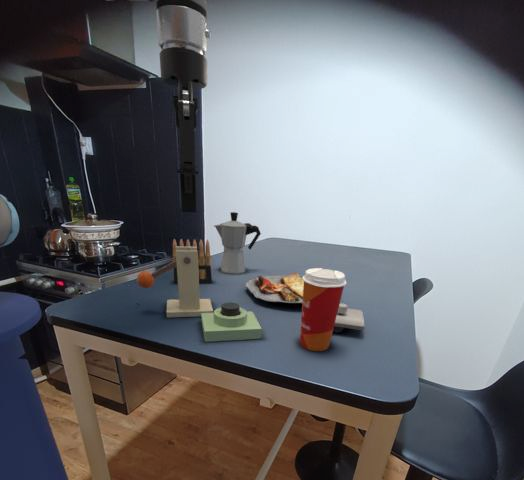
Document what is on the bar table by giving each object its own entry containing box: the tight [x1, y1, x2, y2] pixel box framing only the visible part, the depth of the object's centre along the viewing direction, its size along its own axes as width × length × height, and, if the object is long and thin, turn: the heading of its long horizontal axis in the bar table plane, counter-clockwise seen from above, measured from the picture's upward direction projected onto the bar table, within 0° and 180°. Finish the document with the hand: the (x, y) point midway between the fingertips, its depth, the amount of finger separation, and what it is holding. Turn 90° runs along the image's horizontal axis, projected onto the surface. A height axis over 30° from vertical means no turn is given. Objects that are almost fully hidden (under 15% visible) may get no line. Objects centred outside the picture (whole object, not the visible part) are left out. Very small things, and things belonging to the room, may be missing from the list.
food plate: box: [244, 272, 304, 305], centre depth 86 cm, size 25×23×4 cm
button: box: [220, 302, 241, 317], centre depth 63 cm, size 4×4×2 cm
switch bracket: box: [166, 245, 214, 318], centre depth 70 cm, size 10×8×14 cm
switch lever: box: [136, 248, 190, 289], centre depth 68 cm, size 13×4×4 cm, turn 103°
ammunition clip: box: [172, 238, 213, 285], centre depth 89 cm, size 11×2×12 cm, turn 104°
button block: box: [200, 307, 263, 343], centre depth 64 cm, size 11×9×4 cm
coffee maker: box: [213, 211, 262, 275], centre depth 102 cm, size 15×9×18 cm, turn 95°
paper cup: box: [299, 267, 347, 352], centre depth 58 cm, size 8×8×14 cm
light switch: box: [333, 302, 366, 333], centre depth 69 cm, size 10×10×5 cm
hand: (189, 211), depth 62 cm, fingers closed
